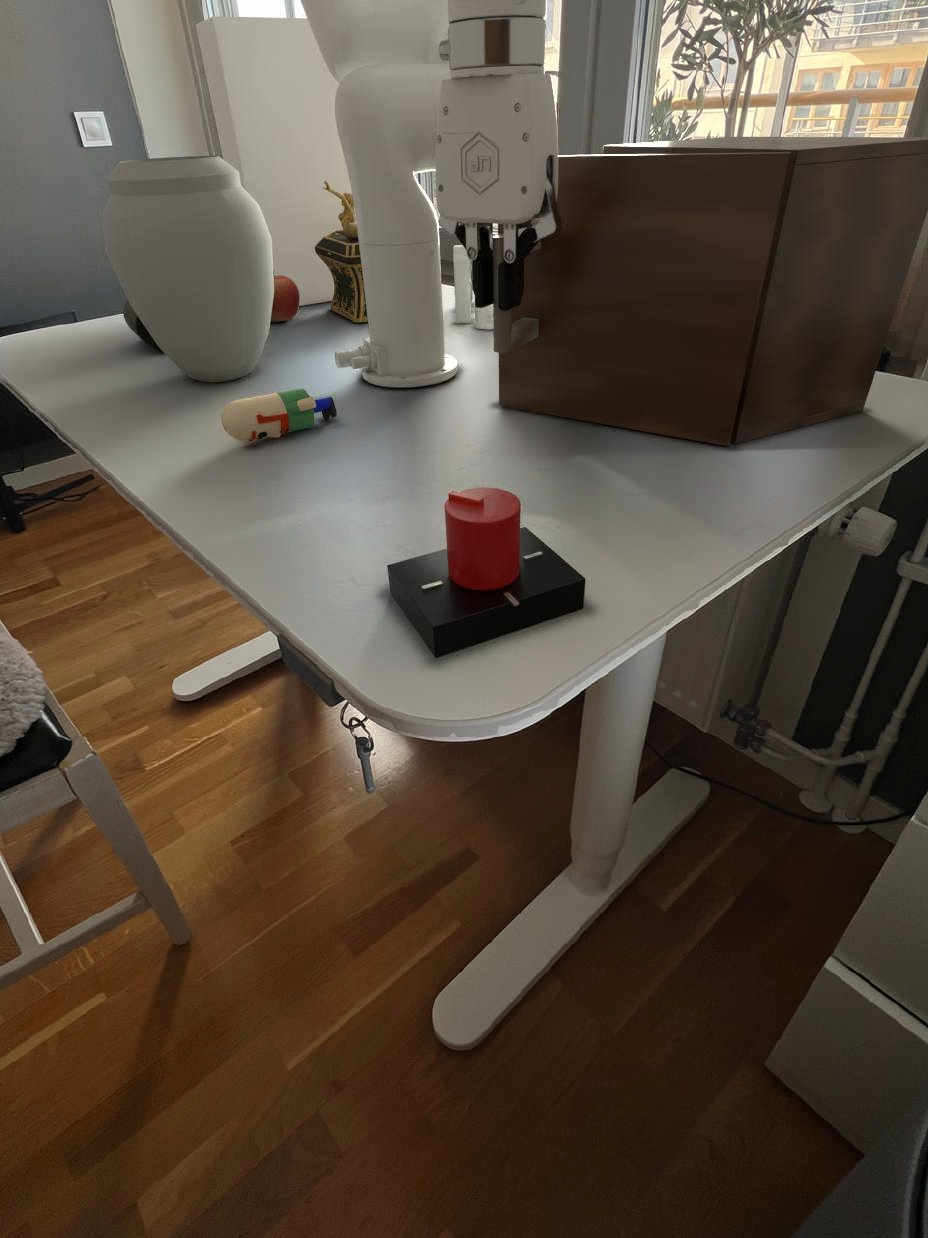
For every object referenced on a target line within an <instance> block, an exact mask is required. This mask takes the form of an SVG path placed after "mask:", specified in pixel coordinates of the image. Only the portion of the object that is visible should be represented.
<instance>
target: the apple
mask: <svg viewBox="0 0 928 1238" xmlns="http://www.w3.org/2000/svg"><path fill="white" fill-rule="evenodd" d="M273 276H274V269H273ZM299 303H300V294H299V290H298V288H297V286H296V284H295V283H294V282H293V281H292V280H291V279H290V278H288V277H285V276H282V275H279V276H274V297H273V304H272V312H271V320H270V323H271V322H272V323H278V322H286V321H290V320H293V319H294V317H296V315H297V313H298V311H299V308H300V306H299Z"/></svg>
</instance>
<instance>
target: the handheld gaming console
mask: <svg viewBox="0 0 928 1238" xmlns="http://www.w3.org/2000/svg"><path fill="white" fill-rule="evenodd" d="M452 251H453V253H452V254H453V288H454V311H455V313H454V314H455V323H456V324H471V323H472V304H473V299H474V297H473V295H474V292H473V281H472V271H473V261H472V260H470V259H468V257H467V254H466V249H465V248H464V246H463V245H462V244H458V245H457V244H456V245H453V250H452Z"/></svg>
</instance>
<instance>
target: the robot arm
mask: <svg viewBox="0 0 928 1238" xmlns="http://www.w3.org/2000/svg"><path fill="white" fill-rule="evenodd" d="M547 1H548V0H300V2H301V3H300V4H301V5H302V8H303V11H304V13H305V16H306V18H308V21H309V24H310V26H311V29H312V31H313V34H314V36H315V39H316V42H317V44H318V47H319V49H320V52H321V54H322V56H323V59H324V61H325V63H326V65H327V67H328V69H329V71H330V73H331V74H332V76H333V77H334V78H335V79H336V80H337V82H339V83H340V84H339V86H338V88H337V92H336V96H335V119H336V125H337V130H338V135H339V139H340V142H341V146H342V150H343V154H344V158H345V162H346V166H347V170H348V174H349V179H350V184H351V189H352V195H353V201H354V208H355V215H356V223H357V231H358V240H359V246H360V255H361V264H362V272H363V281H364V290H365V298H366V307H367V316H368V322H367V323H368V332H369V337H364V338H363V339H362V341H363V345H358V346H357V349H352V350H349V349H347V350H341V351H335V352H334V362H335V364H336V366H337V367H336V368H338V369H341V368H348V367H351V369H352V370H358V369H361V375H362V378H363V380H365V381H366V382H367V383H370V384H371V385H375V386H379V387H385V388H396V389H397V388H399V389H401V388H402V389H403V388H405V389H409V388H418V387H426V386H433V385H436V384H440V383H442V382H445V381H448V380H449V379H452V378H453V377H454V376H456V375H457V373H458V368H459V367H458V364H459V363H458V360H457V359H455V358H454V357H453V356H451V355H449V354H446V345H445V344H446V343H445V325H444V323H445V321H444V307H443V306H444V305H443V304H444V303H443V285H442V268H441V248H440V247H441V246H440V245H441V244H440V232H439V227H440V228H441V229H443V230H445V231H446V232H448V233H449V234H451V235H453V236H456V238H457V240H458V241H459V242H460V245H463V246H464V248H465V249H466V254H467V257H468V259H470V260H472V290H473V295H475V297H474V307H475V306H476V308H483V307H486V306H488V305H491V304H493V236H494V224H498V223H500V224H504V262H502V263H499V266H498V308H499V309H500V310H501V311H507V310H510V309H512V308H514V307H517V306H519V305H520V304H521V298H522V297H523V293H524V259H525V258H527V257H528V256H529V255H530V252H531V250H532V249H533V248H534V247H535V246H536V245H537V243H538V242H539V241H540V240H542V239H544V238H546V237H548V236H550V235H553V234H555V233H557V232H559V231H560V230H561V229H562V221H561V217H560V214H559V210H558V206H557V194H558V156H559V135H558V134H559V132H558V119H557V118H558V117H557V107H556V99H555V90H554V83H553V77H552V74H551V73H546V43H547V42H546V39H547V38H546V37H547V20H546V19H547V7H548V6H547V4H548V2H547ZM434 171H435V198H436V201H435V202H436V209H437V213H438V214H439V217H438V216H437V213H436V209H435V207H434V205H433V203H432V201H431V199H430V198H429V197H428V195H427V193H426V192H425V190H424V189H423V188H422V186H421V185H420V183H419V181H418V180H417V178H416V175H415V174H419V173H424V172H434ZM532 218H540V219H539V222H538V223H537V224H535V225H534V226H532V227H531V219H532Z"/></svg>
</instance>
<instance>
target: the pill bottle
mask: <svg viewBox="0 0 928 1238" xmlns="http://www.w3.org/2000/svg"><path fill="white" fill-rule="evenodd" d="M473 295H474V294H473ZM473 298H475V295H474V297H473ZM474 325H475V328H476V329H479V330H486V331H487V330H489V331H491V330H493V304H491V305H488V306H486V307H483V308H476V306H475V305H474Z"/></svg>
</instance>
